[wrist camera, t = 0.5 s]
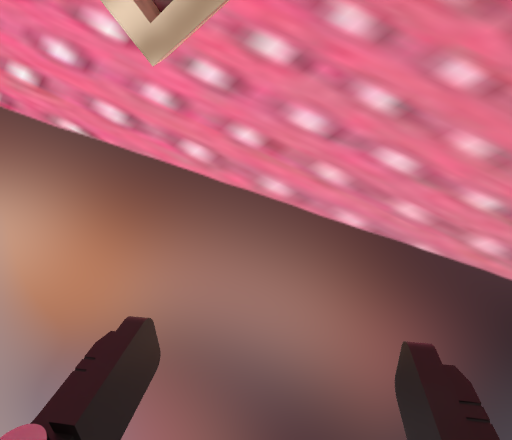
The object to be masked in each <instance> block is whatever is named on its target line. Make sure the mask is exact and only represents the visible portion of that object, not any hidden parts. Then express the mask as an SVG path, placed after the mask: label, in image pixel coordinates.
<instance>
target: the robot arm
mask: <svg viewBox="0 0 512 440" xmlns="http://www.w3.org/2000/svg"><path fill="white" fill-rule="evenodd" d="M159 361H160V348H159V343H158V339H157V335H156V331H155V326H154V322H153V320H152V319H151V318H142V317H131V316H130V317H127V318H126V319H125V320H124V321H123V323H122V324H121V325H120V327H119V328H118V329H117V330H116V331H110V332H109V333H108V334H106V335H105V336H104V337H103V338H101V339H100V340H98V341H97V342H96V343H95V344H94V345H93V347H92V348H91V349H90V350H89V352H88V353H87V354H86V355H85V358H84V359H82V361H81V362H80V363H79V364H78V365H77V367H76V368H75V371H73V372H72V373H71V374H70V375H69V377H68V378H67V379H66V380H65V382H64V383H63V384H62V385H61V387H60V388H59V389H58V391H57V392H56V393H55V394H54V396H53V397H52V398H51V399H50V401H49V402H48V403H47V404H46V406H45V407H44V408H43V410H42V411H41V412H40V413H39V414H38V416H37V417H36V418H35V419H34V420H33V421H32V422H31V423H30V424H26V425H22V426H20V427H17V428H15V429H13V430H11V431H9V432H8V433H6V434H5V435H3V436H2V437H1V438H0V440H121V438H122V436H123V434H124V432H125V430H126V428H127V426H128V424H129V422H130V420H131V419H132V417H133V415H134V413H135V411H136V409H137V407H138V405H139V403H140V401H141V399H142V397H143V395H144V393H145V392H146V390H147V388H148V386H149V384H150V382H151V380H152V378H153V376H154V374H155V372H156V370H157V368H158V365H159ZM395 392H396V398H397V402H398V406H399V409H400V414H401V418H402V422H403V425H404V429H405V433H406V437H407V440H500V439H499V437H498V435H497V433H496V431H495V429H494V427H493V425H492V424H490V419H489V417H488V416H487V413H486V412H485V410H484V408H483V407H482V406H481V402H480V400H479V398H478V396H477V394H476V392H475V390H474V388H473V386H472V384H471V383H470V381H469V380H468V379H466V377H465V376H464V375H463V374H462V373H461V372H460V371H459V370H458V369H457V368H456V367H455V366H453V365H443V364H442V362H441V360H440V358H439V355H438V353H437V351H436V349H435V347H434V346H433V345H432V344H426V343H415V342H403V344H402V347H401V352H400V356H399V361H398V366H397V370H396V375H395Z"/></svg>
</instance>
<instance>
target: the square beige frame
mask: <svg viewBox="0 0 512 440" xmlns="http://www.w3.org/2000/svg"><path fill="white" fill-rule="evenodd" d="M101 1H102V3H103V4H104V5H105V7H106V8H107V9H108V10H109V12H110V13H111V14H112V15H113V17H114V18H115V19H116V20H117V22H118V23H119V24H120V26H121V27H122V28H123V29H124V31H125V32H126V33H127V34H128V36H129V37H130V38H131V39H132V41H133V42H134V43H135V45H136V46H137V47H138V48H139V50H140V51H141V52H142V53H143V55H144V56H145V57H146V58H147V60H148V61H149V62H150V63H151V65H152V66H154V65H156V64H157V63H159V62H161V61H162V60H164V59H165V58H166V57H168V56H169V55H170V54H171V53H172V52H173V51H174V50H175V49H176V48H178V47H179V46H180V45H181V44H182V43H183V42H184V41H185V40H186V39H187V38H189V37H190V36H191V35H192V34H193V33H194V32H195V31H196V30H197V29H199V28H200V27H201V26H202V25H203V24H204V23H205V22H206V21H207V20H208V19H210V18H211V17H212V16H213V15H214V14H215V13H216V12H217V11H218V10H220V9H221V8H222V7H223V6H224V5H225V4H226V3H227V2H228V1H229V0H173V1H172V2H171V3H170V4H169V5H168V6H167V7H166V8H165V9H164V10H163V11H162V12H160V11H159V9H158V8H157V6H156V5H155V4H154V2H153V1H152V0H101Z"/></svg>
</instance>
